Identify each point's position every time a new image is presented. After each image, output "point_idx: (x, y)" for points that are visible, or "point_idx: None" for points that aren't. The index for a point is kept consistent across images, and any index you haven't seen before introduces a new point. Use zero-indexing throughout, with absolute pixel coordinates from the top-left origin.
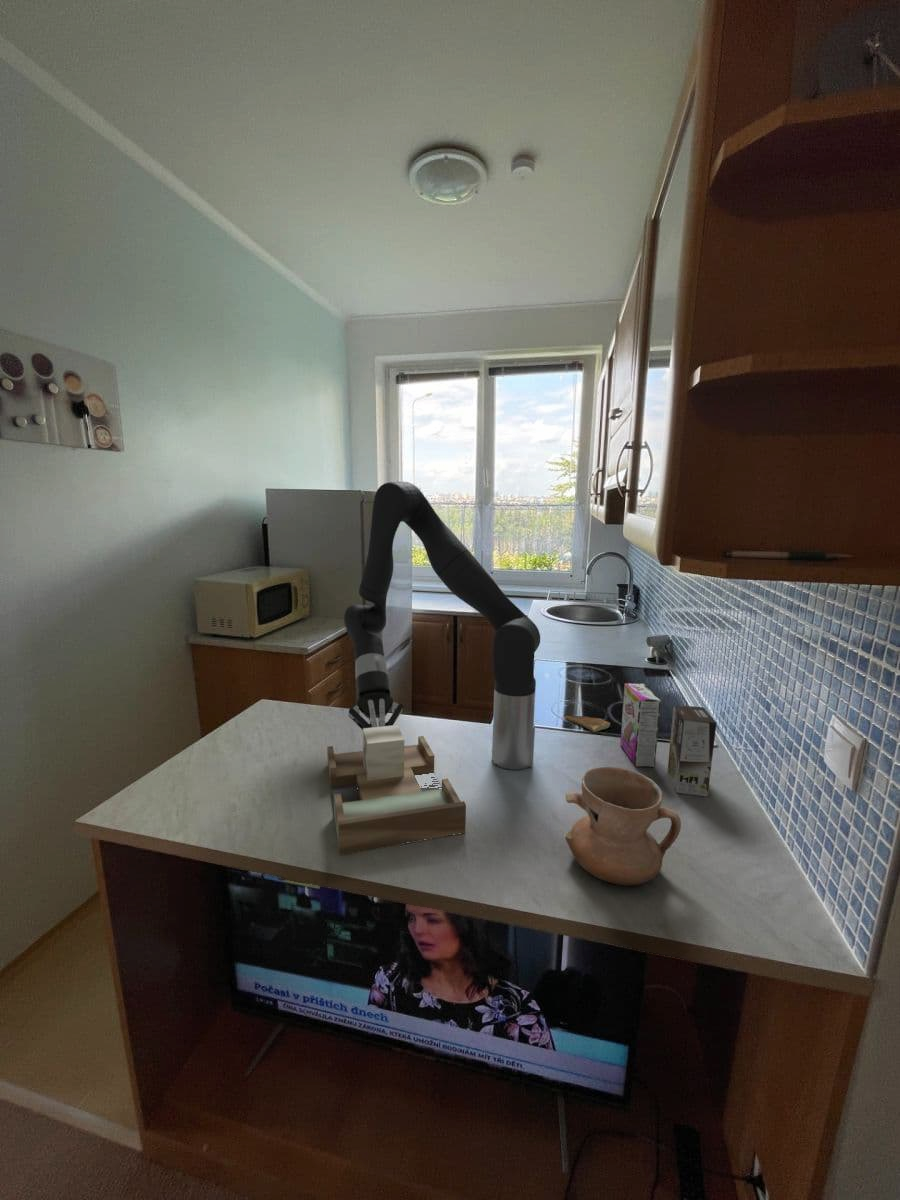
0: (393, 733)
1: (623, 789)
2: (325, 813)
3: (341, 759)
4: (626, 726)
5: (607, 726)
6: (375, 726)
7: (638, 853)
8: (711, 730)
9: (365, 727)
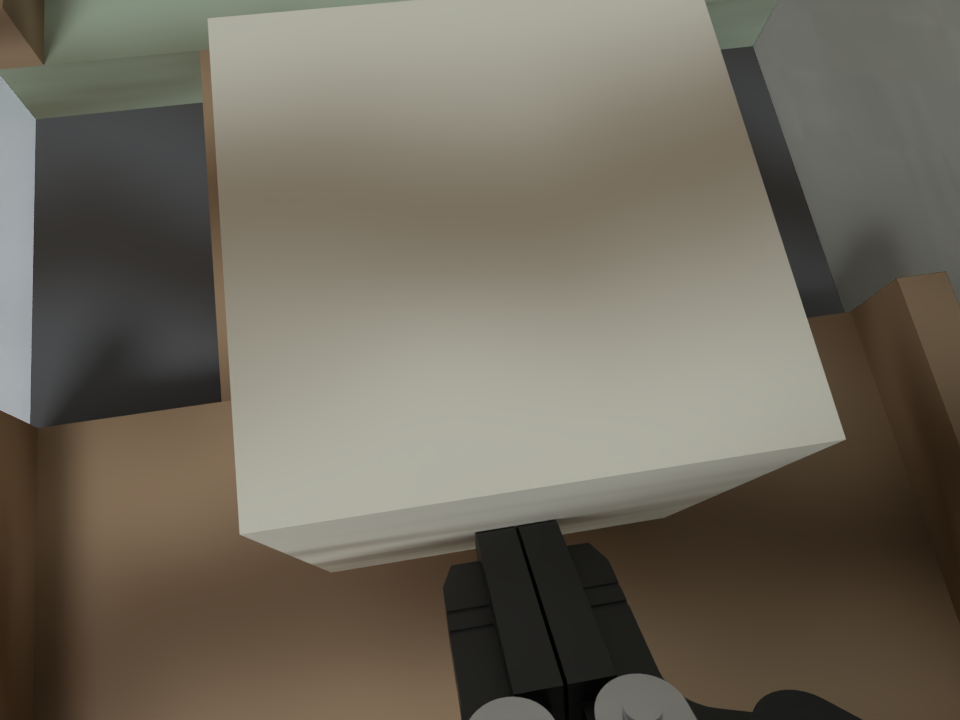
0: (343, 209)
1: None
2: (804, 88)
3: (884, 618)
4: None
5: None
6: (636, 716)
7: None
8: None
9: (803, 694)
